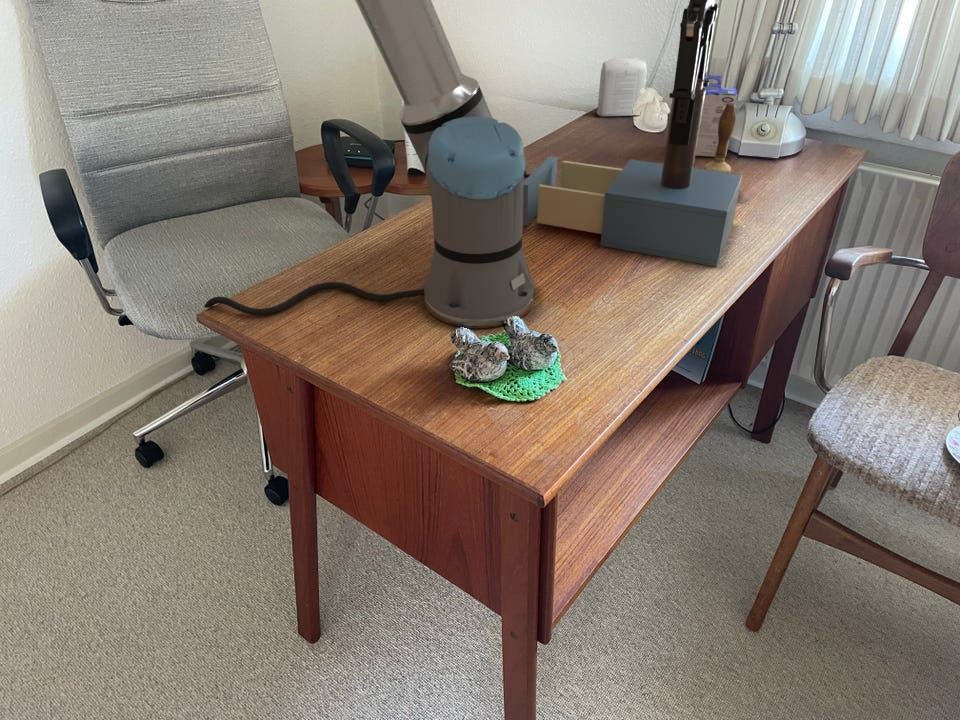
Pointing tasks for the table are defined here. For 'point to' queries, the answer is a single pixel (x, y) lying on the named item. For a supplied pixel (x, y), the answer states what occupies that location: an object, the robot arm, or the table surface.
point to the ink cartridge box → (713, 116)
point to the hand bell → (723, 139)
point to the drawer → (567, 195)
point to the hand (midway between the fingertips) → (682, 137)
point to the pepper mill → (683, 148)
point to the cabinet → (670, 213)
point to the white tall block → (620, 86)
